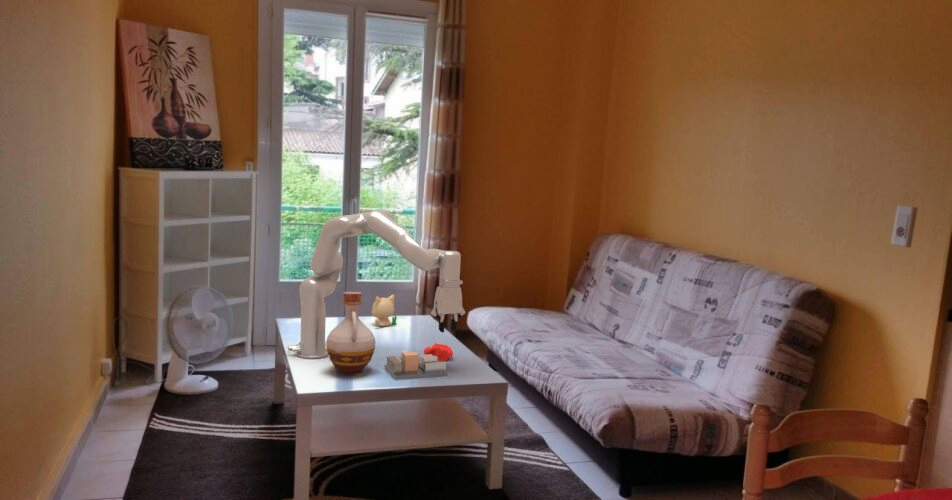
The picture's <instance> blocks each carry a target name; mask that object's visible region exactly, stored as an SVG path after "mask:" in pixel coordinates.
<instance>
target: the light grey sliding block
mask: <svg viewBox="0 0 952 500" xmlns="http://www.w3.org/2000/svg"><path fill="white" fill-rule="evenodd" d="M418 355H419V361H418V365H419V366H420V367H421V368H422V369H423V370H424V363H431V362H437V358H436V357H434V356H433V355H432V354H426V355H425V354H418Z"/></svg>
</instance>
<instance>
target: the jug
mask: <svg viewBox="0 0 952 500" xmlns="http://www.w3.org/2000/svg"><path fill="white" fill-rule="evenodd" d="M342 294H343V301H342V302H343V304H344V309H345V316H344V318H343V320H341V321H340V323H338V324H337V325H336V326H335V327H334V328H333V329H332V330H331V331H330V332H329V334H328V335H327V338H326V340H325V345H326V350H327V352H328V358H329V360H330V362H331V363H332V365H333V366H334V368H335V370H337V371H338V372H339V374H342V375H346V376H354V375H359V374H361V373H362V372H363V371H364V370H365V369H366V367H367V366H368V365H369V363H370V362H371V360H372V357H373V356H374V352H375V349H376V337H375V335H374V333H373V331H372V330H370V328H369V327H368V326H367V325H366V324H364V322H363V321H362V320H361V319H360V318H359V311H360V310H359V309H360V306H361V304H362V300H361V297H362V292H360V291H345V292H342Z"/></svg>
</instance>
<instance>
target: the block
mask: <svg viewBox="0 0 952 500" xmlns="http://www.w3.org/2000/svg"><path fill="white" fill-rule="evenodd" d="M419 355H420V354H418V353H417V352H416V351H414V350H413V351H412V350H411V351H401V356H400V357H401V358H400V361H401V362H402V369H403V370H404V371H417V370H418V358H419Z"/></svg>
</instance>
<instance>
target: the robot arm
mask: <svg viewBox="0 0 952 500" xmlns="http://www.w3.org/2000/svg"><path fill="white" fill-rule="evenodd" d="M409 232H410V231H409V230H408V228H406V227H405V226H403V225H402V224H400V223H398V221H396V220H394V217H393V214H392V213H391V212H390V211H388V210H387V209H383V208H382V209H372V210H371V211H368V212H367V211H366V212H361V213H360V212H359V213H354V214H353V213H352V214H347V215H338V216H334V217H333V216H332V217H331V218H329V219H328V220H327V221H326V222H325V223H324V224H323V226H322V229H321V231H320V235H319V236H318V241H317V243H316V246H315V249H314V253H313V254H312V257H311V261H310V269H311V270H312V272H313V273H314V274H315V275H311V276H308V277H307V278H305V279H304V280H303V281H302V282H301V283H300V285H299V290H298V292H299V298H300V299H299V300H300V342H298V344H296V345H288V346H287V349H288V351H289V352H290V351H292V352H296V353H295V355H296V356H297V357H298V358H302V359H322V358H326V357H329V355H328V352H327V349H326V321H327V320H326V319H327V318H326V317H327V315H326V314H327V313H326V311H327V310H326V309H327V308H326V303H325V298H326V297H328V296H330V295H331V294H333V292H334V290H335V289H336V287H337V284H338V281H339V278H340V275H341V272H342V269H343V266H344V259H343V255H342V254H341V252H340V251H339V250H340V248H341V247H340V246H341V242H342V241H341V240H342V238H352V237H358V236H361V235H363V236H364V235H367V234H368V235H369V234H374V235H376V236H377V237H378V238H380V239H381V240H383V241H384V242H386V244H388V245H390V246H391V247H393V248H394V249H395V251H396V252H397V253H398V254H399V255H400V256H401V257H402V258H403V259H405V260H406V261H407V262H408V263H410V264H411V265H412V266H414V267H415V268H417V269H418V270H421V271H424V272H429V271H432V270H434V269H435V270H436V269H437V268H439V284H438V285H439V286H437V287H436V291H435V294H434V295H435V296H434V300H433V301H434V302H433V308H432V310H431V312H430V315H432V317H434V318H436V319H437V321H438V330H439V332H441V333H445V324H446V323H445V321H444V319H445V315H451V320H450V327H449V328H450V331H451V332H452V333H456V329H457V322H458V321H459V319H460V318H461V317H463V316H464V315H465V314H466V310H465V309H464V307H463V293H462V288H461V286H460V285H463V283H464V282H463V280H461V279H460V276H461V275H460V274H461V259H462V258H461V256H462V255H461V253H460V251H456V250H442V249H437V248H429V249H425V248H423V247H422V246H421V245H419V244H418V243H416V242H415V240H414V239H413V238H412V237H411V234H410V233H409Z"/></svg>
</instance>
